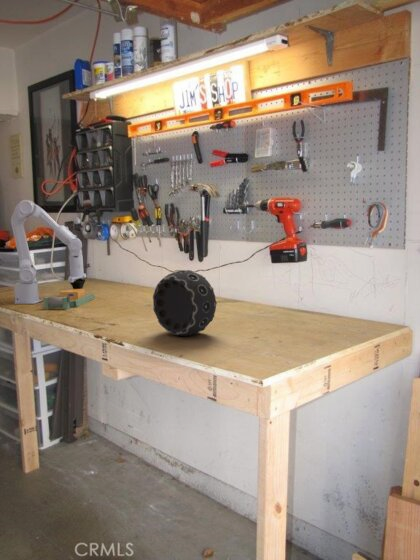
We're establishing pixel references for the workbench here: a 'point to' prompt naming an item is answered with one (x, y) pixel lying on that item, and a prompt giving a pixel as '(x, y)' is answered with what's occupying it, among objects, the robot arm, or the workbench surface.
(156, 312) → the dark studded ball
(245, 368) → the workbench surface
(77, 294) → the orange square block
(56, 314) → the workbench surface
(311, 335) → the workbench surface
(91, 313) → the workbench surface
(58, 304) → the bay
